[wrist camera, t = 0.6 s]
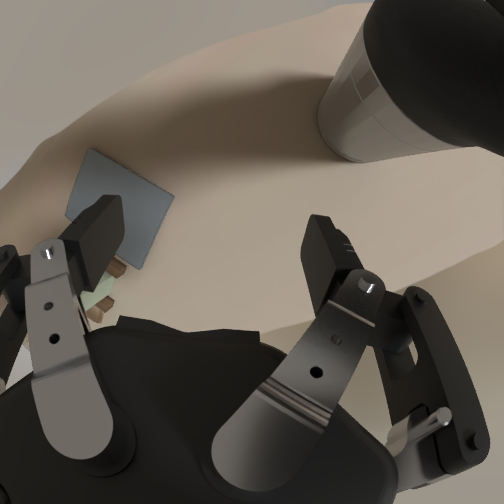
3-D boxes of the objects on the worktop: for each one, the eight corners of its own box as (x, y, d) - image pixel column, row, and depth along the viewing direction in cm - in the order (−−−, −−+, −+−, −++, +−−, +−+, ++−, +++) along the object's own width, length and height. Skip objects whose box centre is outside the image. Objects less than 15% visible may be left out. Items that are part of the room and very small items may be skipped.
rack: (79, 231, 32) (69, 234, 30) (126, 266, 32) (118, 271, 30) (68, 272, 33) (60, 276, 31) (112, 306, 34) (105, 312, 32)
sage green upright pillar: (85, 249, 32) (17, 280, 20) (117, 273, 32) (52, 315, 20) (79, 270, 33) (16, 305, 20) (110, 293, 33) (50, 338, 21)
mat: (91, 148, 28) (88, 147, 28) (174, 196, 29) (172, 196, 29) (67, 215, 31) (64, 215, 31) (141, 268, 32) (139, 269, 31)
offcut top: (76, 288, 33) (72, 291, 33) (102, 303, 34) (99, 306, 33) (75, 304, 34) (71, 307, 33) (101, 320, 34) (97, 323, 33)
